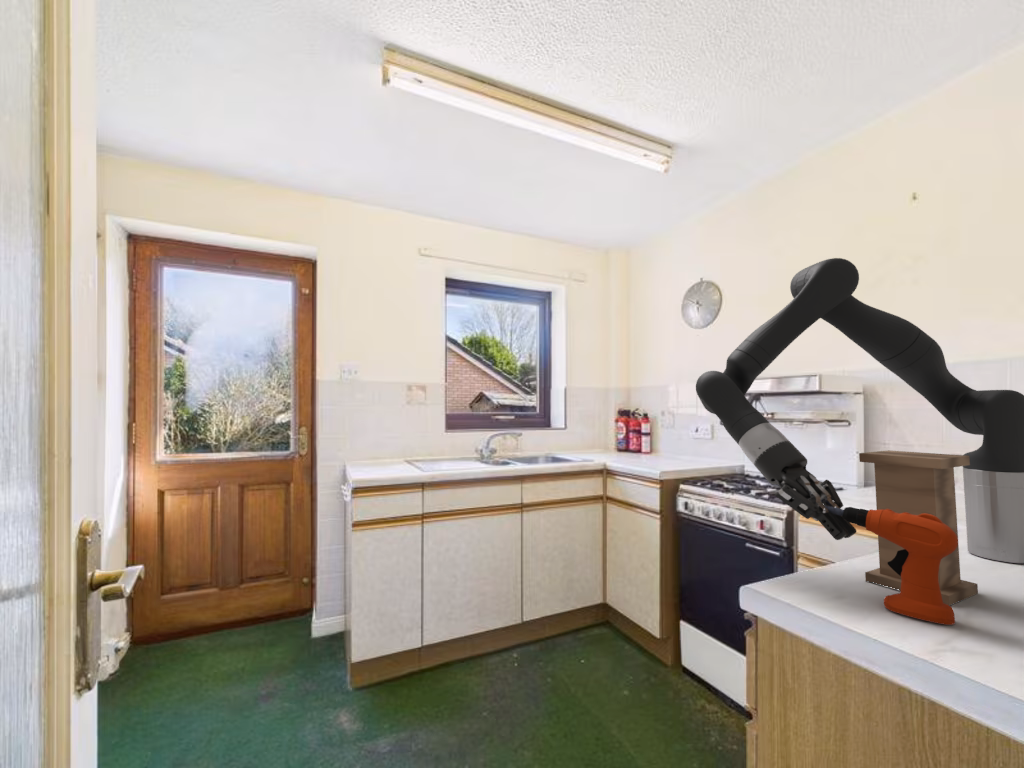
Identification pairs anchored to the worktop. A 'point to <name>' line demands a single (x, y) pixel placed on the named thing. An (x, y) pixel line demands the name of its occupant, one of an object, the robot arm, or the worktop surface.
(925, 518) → the toy drill
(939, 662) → the worktop surface
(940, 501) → the walnut stand
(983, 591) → the worktop surface
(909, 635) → the worktop surface
